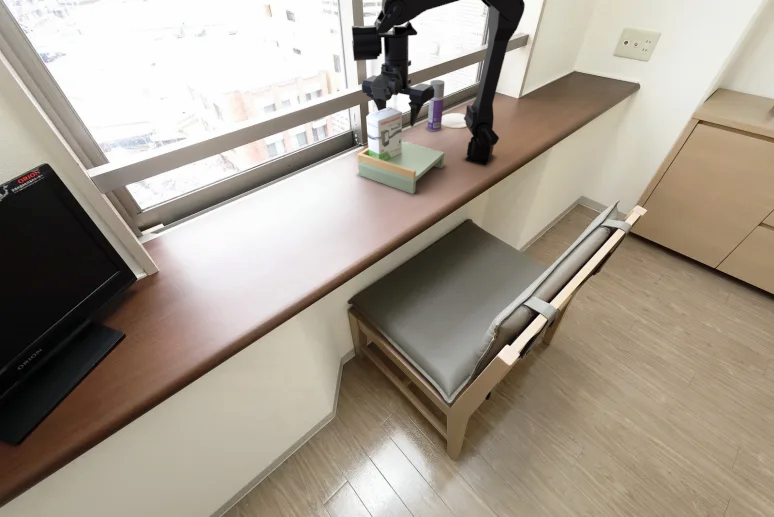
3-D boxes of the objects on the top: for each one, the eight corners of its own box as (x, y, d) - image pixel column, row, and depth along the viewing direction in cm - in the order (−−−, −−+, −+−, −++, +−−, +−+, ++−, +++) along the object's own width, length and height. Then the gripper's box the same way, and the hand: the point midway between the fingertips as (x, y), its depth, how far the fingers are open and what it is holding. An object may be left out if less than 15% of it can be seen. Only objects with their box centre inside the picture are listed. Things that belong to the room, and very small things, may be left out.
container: (442, 126, 119) (446, 80, 109) (439, 131, 116) (443, 85, 106) (429, 124, 120) (432, 79, 110) (425, 130, 117) (428, 83, 107)
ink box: (379, 163, 92) (377, 120, 84) (368, 157, 95) (365, 115, 87) (402, 153, 96) (402, 111, 88) (390, 147, 99) (390, 106, 91)
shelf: (443, 166, 99) (445, 145, 95) (413, 194, 89) (413, 172, 85) (392, 151, 107) (391, 131, 102) (359, 175, 97) (357, 154, 92)
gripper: (344, 61, 80) (352, 126, 91) (412, 72, 72) (411, 142, 83) (372, 50, 87) (375, 112, 97) (437, 58, 79) (433, 125, 90)
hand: (397, 122), depth 92 cm, fingers open, 9 cm apart
